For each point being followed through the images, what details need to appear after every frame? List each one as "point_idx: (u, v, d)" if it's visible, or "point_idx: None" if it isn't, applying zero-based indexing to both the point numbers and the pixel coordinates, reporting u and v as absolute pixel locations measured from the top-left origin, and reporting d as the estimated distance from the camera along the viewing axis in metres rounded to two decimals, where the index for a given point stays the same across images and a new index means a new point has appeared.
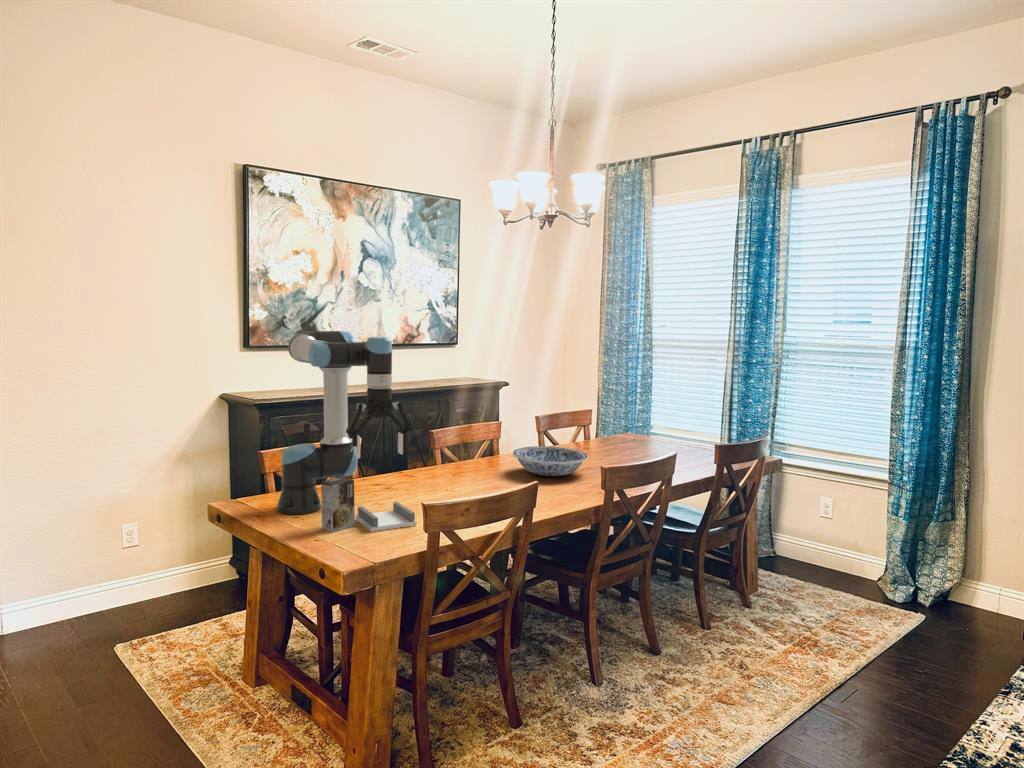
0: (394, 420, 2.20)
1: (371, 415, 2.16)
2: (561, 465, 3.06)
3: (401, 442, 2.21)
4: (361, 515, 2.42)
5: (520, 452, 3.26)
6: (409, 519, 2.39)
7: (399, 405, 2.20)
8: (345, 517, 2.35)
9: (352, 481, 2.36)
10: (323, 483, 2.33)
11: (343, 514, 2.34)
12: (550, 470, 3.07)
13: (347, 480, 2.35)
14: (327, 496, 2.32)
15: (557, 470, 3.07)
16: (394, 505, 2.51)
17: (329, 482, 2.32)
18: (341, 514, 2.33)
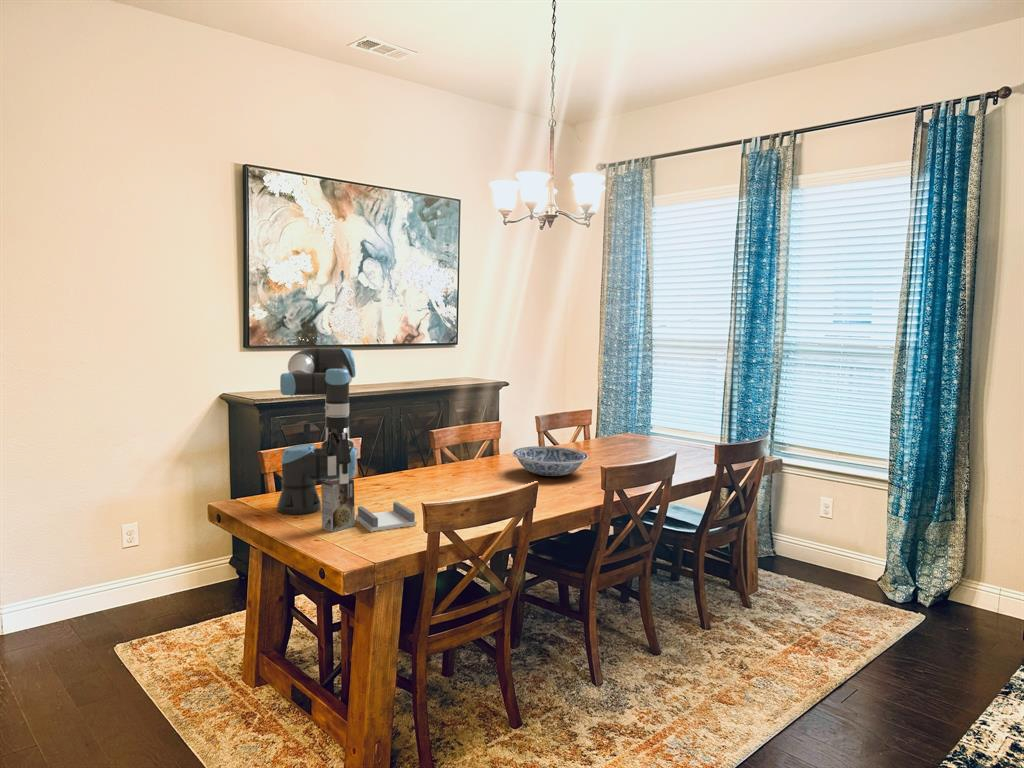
0: (338, 449, 2.29)
1: (330, 439, 2.35)
2: (561, 465, 3.06)
3: (340, 472, 2.28)
4: (361, 515, 2.42)
5: (520, 452, 3.26)
6: (409, 519, 2.39)
7: (339, 435, 2.27)
8: (345, 517, 2.35)
9: (352, 481, 2.36)
10: (323, 483, 2.33)
11: (343, 514, 2.34)
12: (550, 470, 3.07)
13: None
14: (327, 497, 2.32)
15: (557, 470, 3.07)
16: (394, 505, 2.51)
17: (329, 482, 2.32)
18: (341, 514, 2.33)
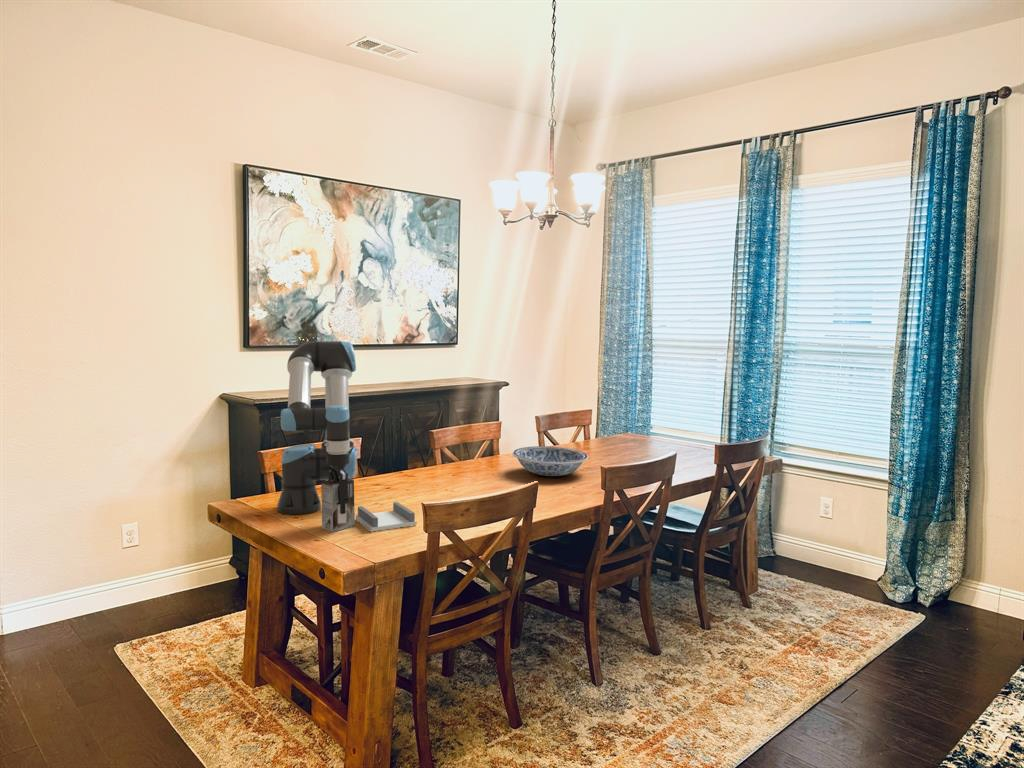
0: None
1: (330, 477, 2.36)
2: (561, 465, 3.06)
3: None
4: (361, 515, 2.42)
5: (520, 452, 3.26)
6: (409, 519, 2.39)
7: (339, 475, 2.29)
8: None
9: (352, 481, 2.36)
10: (323, 483, 2.33)
11: None
12: (550, 470, 3.07)
13: None
14: (327, 496, 2.32)
15: (557, 470, 3.07)
16: (394, 505, 2.51)
17: (329, 482, 2.32)
18: None
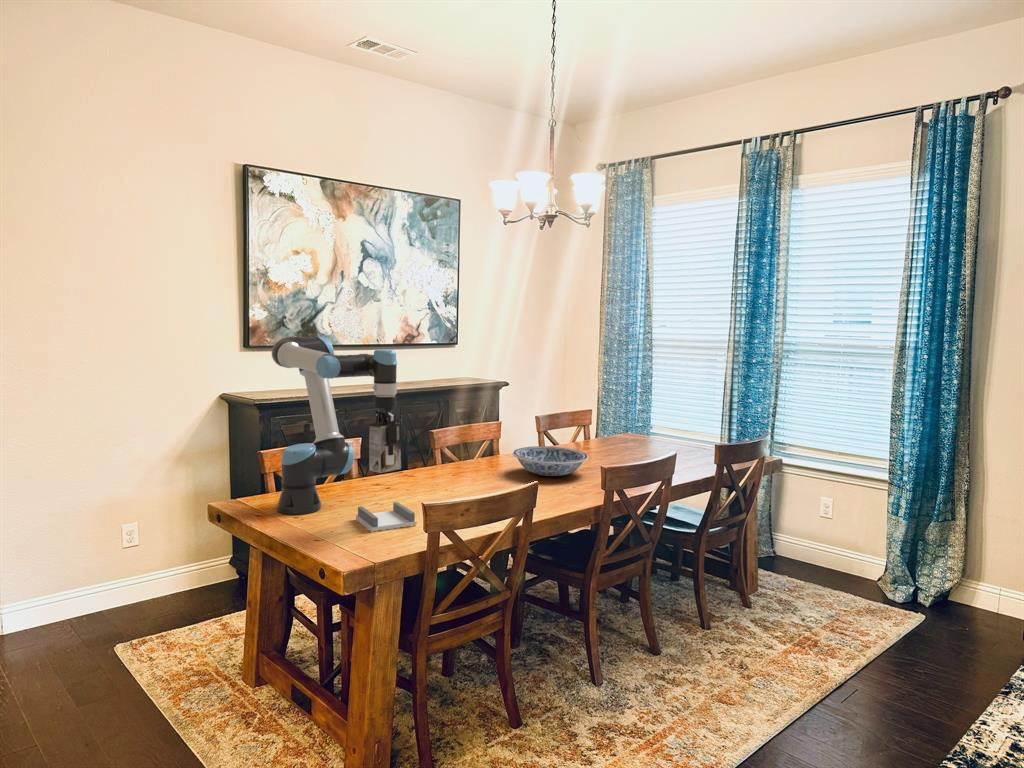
0: None
1: (378, 420, 2.40)
2: (561, 465, 3.06)
3: (385, 453, 2.36)
4: (361, 515, 2.42)
5: (520, 452, 3.26)
6: (409, 519, 2.39)
7: (387, 417, 2.33)
8: None
9: (399, 424, 2.40)
10: (371, 425, 2.37)
11: None
12: (550, 470, 3.07)
13: None
14: (374, 438, 2.36)
15: (557, 470, 3.07)
16: (394, 505, 2.51)
17: (377, 424, 2.36)
18: None
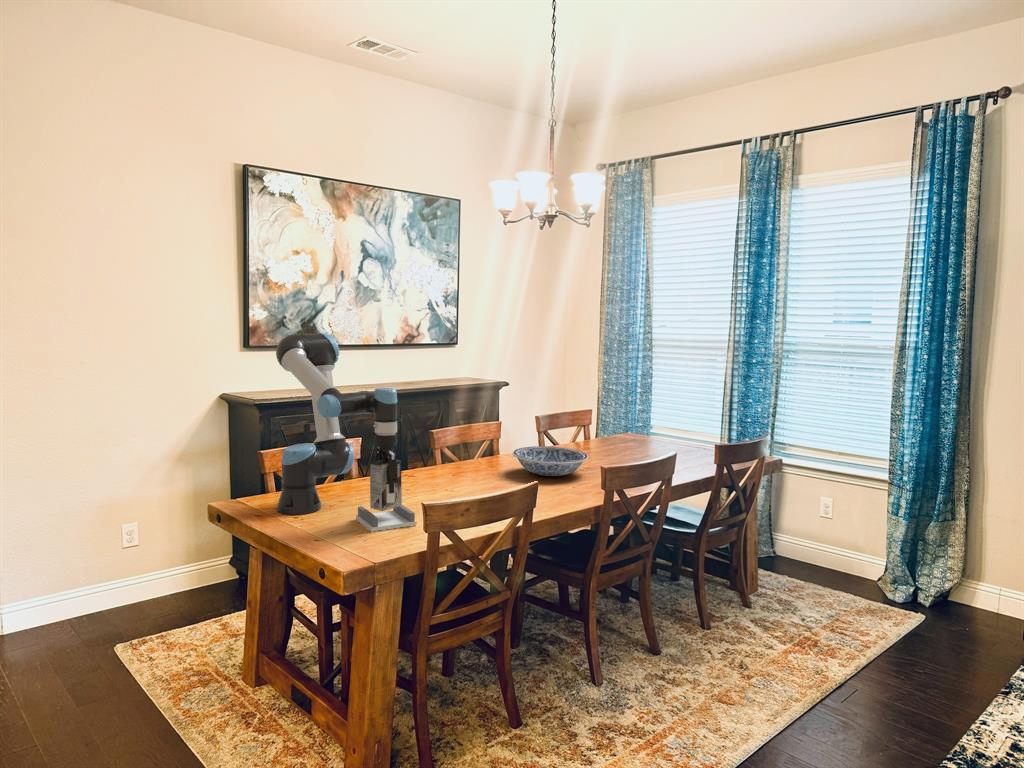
0: None
1: (378, 458, 2.42)
2: (561, 465, 3.06)
3: (386, 491, 2.37)
4: (361, 515, 2.42)
5: (520, 452, 3.26)
6: (409, 519, 2.39)
7: (388, 456, 2.35)
8: None
9: (399, 462, 2.42)
10: (372, 463, 2.38)
11: None
12: (550, 470, 3.07)
13: None
14: (375, 476, 2.37)
15: (557, 470, 3.07)
16: None
17: (378, 462, 2.38)
18: None
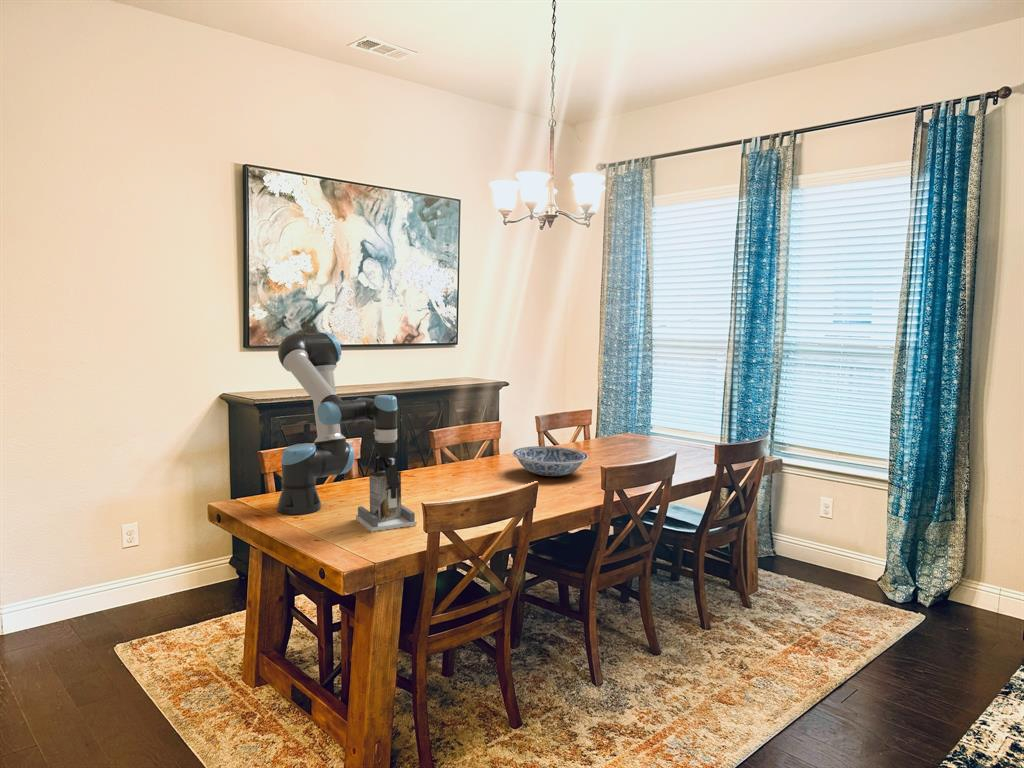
0: (386, 474, 2.37)
1: (378, 464, 2.42)
2: (561, 465, 3.06)
3: (388, 496, 2.36)
4: (361, 515, 2.42)
5: (520, 452, 3.26)
6: (409, 519, 2.39)
7: (388, 461, 2.35)
8: (392, 508, 2.41)
9: (399, 473, 2.42)
10: (371, 475, 2.39)
11: None
12: (550, 470, 3.07)
13: None
14: (375, 488, 2.38)
15: (557, 470, 3.07)
16: None
17: (377, 474, 2.39)
18: None
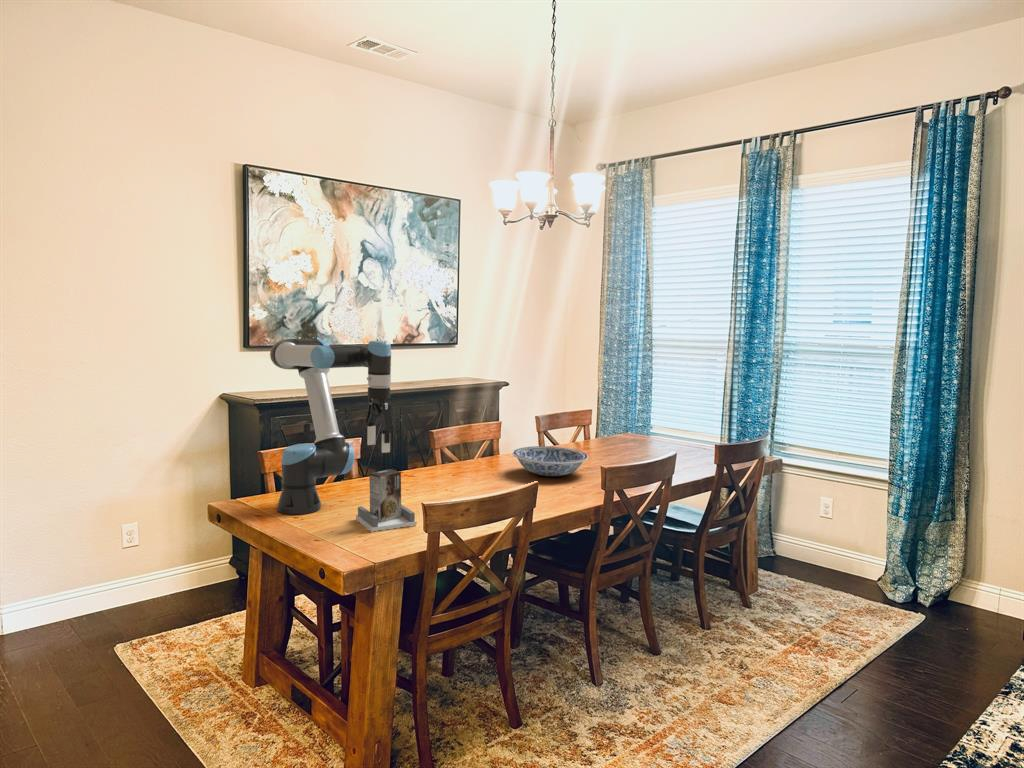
0: (380, 419, 2.35)
1: (370, 410, 2.41)
2: (561, 465, 3.06)
3: (382, 441, 2.34)
4: (361, 515, 2.42)
5: (520, 452, 3.26)
6: (409, 519, 2.39)
7: (382, 406, 2.34)
8: (392, 508, 2.41)
9: (399, 473, 2.42)
10: (371, 475, 2.39)
11: (390, 505, 2.40)
12: (550, 470, 3.07)
13: (394, 472, 2.42)
14: (375, 488, 2.38)
15: (557, 470, 3.07)
16: None
17: (377, 474, 2.39)
18: (389, 505, 2.39)
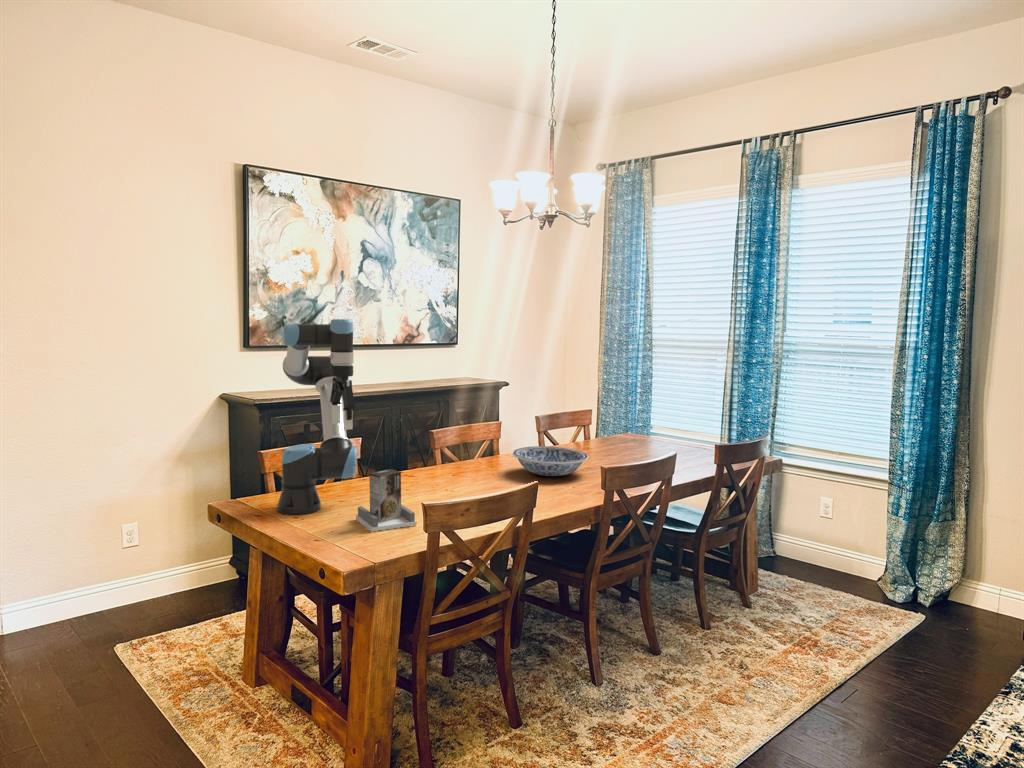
0: (342, 396, 2.37)
1: (334, 388, 2.43)
2: (561, 465, 3.06)
3: (344, 418, 2.35)
4: (361, 515, 2.42)
5: (520, 452, 3.26)
6: (409, 519, 2.39)
7: (343, 383, 2.35)
8: (392, 508, 2.41)
9: (399, 473, 2.42)
10: (371, 475, 2.39)
11: (390, 505, 2.40)
12: (550, 470, 3.07)
13: (394, 472, 2.42)
14: (375, 488, 2.38)
15: (557, 470, 3.07)
16: None
17: (377, 474, 2.39)
18: (389, 505, 2.39)
